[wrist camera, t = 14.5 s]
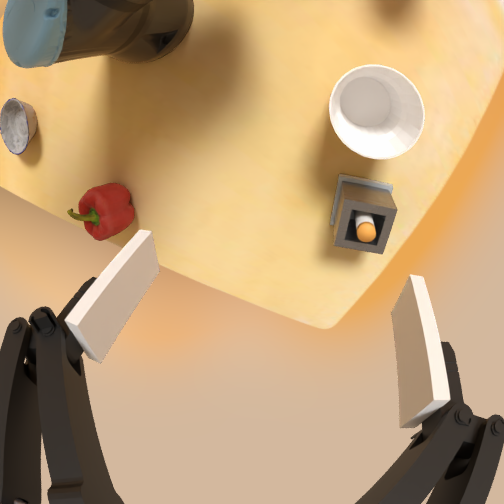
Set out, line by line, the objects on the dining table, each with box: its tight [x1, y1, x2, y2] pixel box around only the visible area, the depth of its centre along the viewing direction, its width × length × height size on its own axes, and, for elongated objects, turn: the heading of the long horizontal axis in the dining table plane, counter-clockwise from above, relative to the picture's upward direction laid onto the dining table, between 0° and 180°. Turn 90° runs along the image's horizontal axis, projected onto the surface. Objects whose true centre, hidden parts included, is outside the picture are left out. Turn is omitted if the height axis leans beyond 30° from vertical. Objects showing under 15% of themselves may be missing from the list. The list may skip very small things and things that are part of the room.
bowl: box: [0, 98, 37, 155], centre depth 41 cm, size 13×13×5 cm
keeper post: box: [330, 174, 393, 242], centre depth 37 cm, size 8×8×8 cm
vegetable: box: [67, 183, 134, 241], centre depth 46 cm, size 11×10×10 cm
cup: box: [329, 65, 425, 159], centre depth 28 cm, size 10×10×10 cm
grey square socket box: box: [334, 181, 397, 254], centre depth 37 cm, size 7×7×6 cm
